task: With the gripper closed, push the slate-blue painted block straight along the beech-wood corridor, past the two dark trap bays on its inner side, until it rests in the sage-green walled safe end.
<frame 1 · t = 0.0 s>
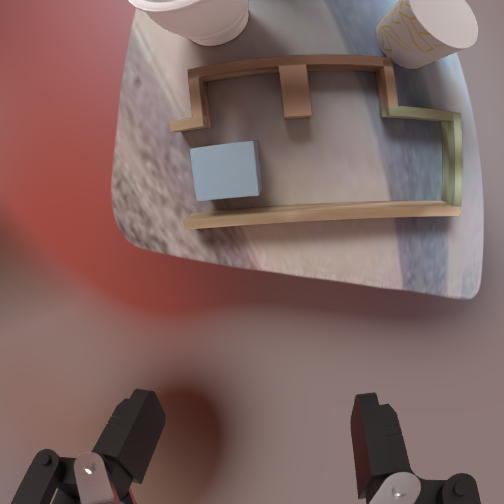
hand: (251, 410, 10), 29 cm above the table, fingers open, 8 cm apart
jar: (216, 20, 29), on the table
white cylinder: (404, 41, 27), on the table
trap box: (321, 160, 34), on the table
block: (232, 167, 36), on the table
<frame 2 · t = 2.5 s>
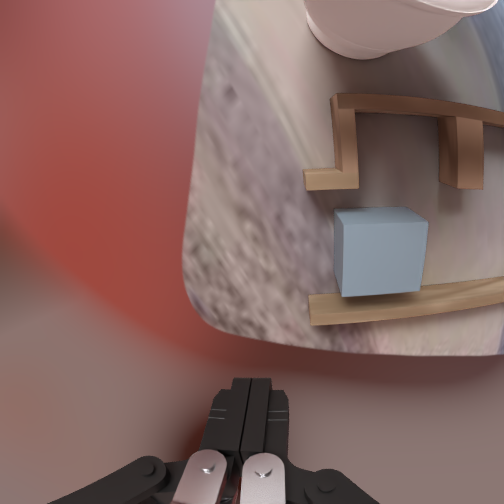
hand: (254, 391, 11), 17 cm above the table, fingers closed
jar: (353, 20, 18), on the table
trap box: (466, 234, 24), on the table
block: (370, 238, 26), on the table
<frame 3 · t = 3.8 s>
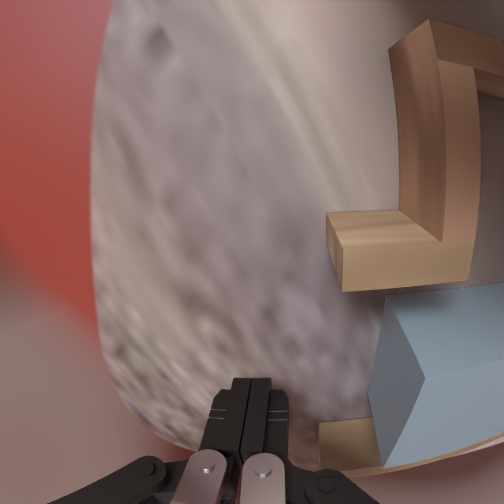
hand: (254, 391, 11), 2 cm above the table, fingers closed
block: (439, 340, 12), on the table
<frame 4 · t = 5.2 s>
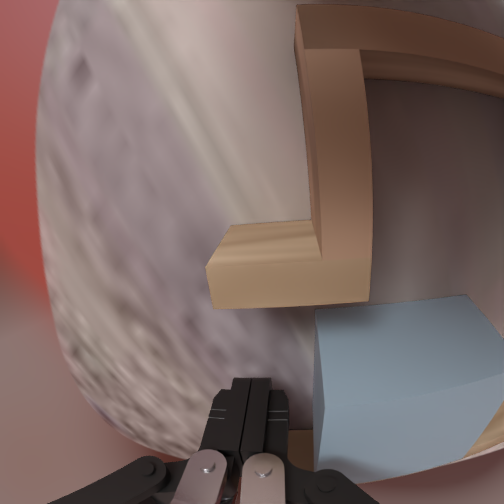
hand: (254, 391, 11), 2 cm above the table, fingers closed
block: (388, 356, 12), on the table, touching gripper
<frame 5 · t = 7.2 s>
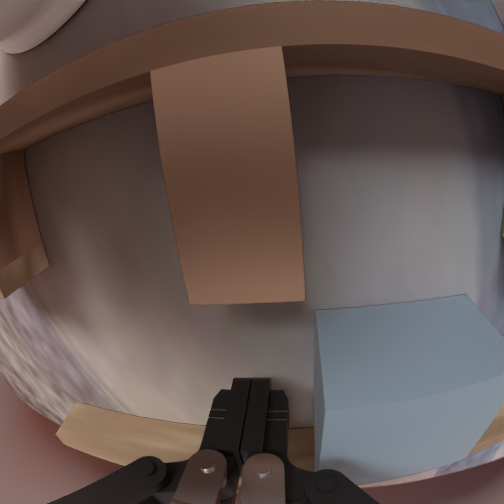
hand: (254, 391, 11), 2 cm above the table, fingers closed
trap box: (327, 361, 12), on the table
block: (388, 357, 12), on the table, touching gripper
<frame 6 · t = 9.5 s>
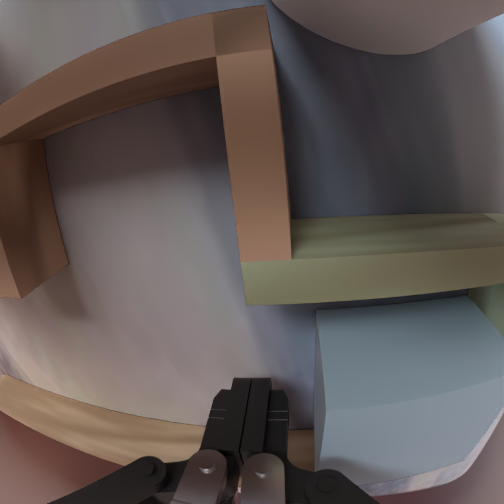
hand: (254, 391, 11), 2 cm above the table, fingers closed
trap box: (117, 356, 14), on the table
block: (389, 358, 12), on the table, touching gripper, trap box
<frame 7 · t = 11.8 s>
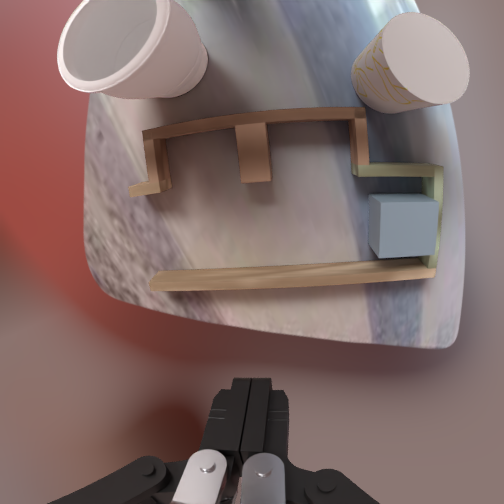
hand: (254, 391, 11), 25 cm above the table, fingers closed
jar: (174, 65, 29), on the table
white cylinder: (384, 80, 27), on the table
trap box: (284, 222, 34), on the table
block: (395, 217, 33), on the table
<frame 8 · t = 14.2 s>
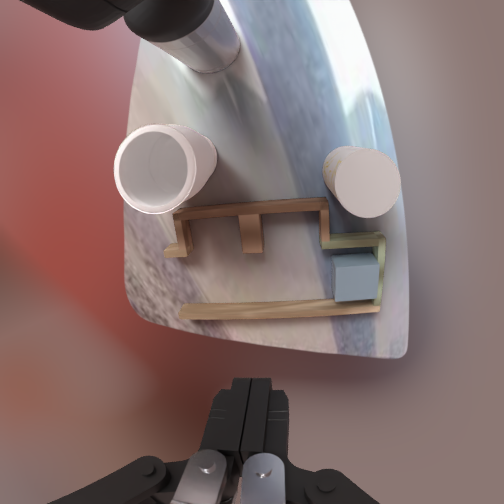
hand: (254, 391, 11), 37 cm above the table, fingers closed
jar: (192, 158, 45), on the table
white cylinder: (348, 171, 43), on the table
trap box: (272, 274, 50), on the table
block: (351, 269, 49), on the table
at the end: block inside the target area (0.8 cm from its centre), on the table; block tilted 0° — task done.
